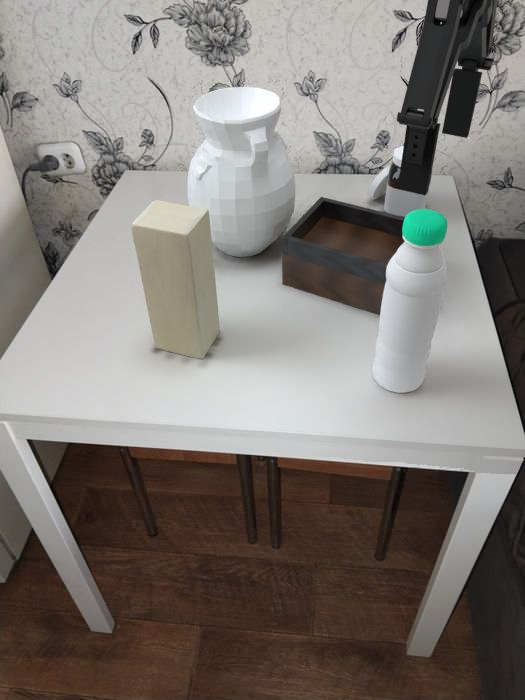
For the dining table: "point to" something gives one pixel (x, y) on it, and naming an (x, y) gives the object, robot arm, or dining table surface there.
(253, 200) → the white vase
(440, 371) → the dining table surface
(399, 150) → the spread jar
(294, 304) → the dining table surface
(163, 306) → the beige rectangular block
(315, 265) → the open rectangular box
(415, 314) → the water bottle
